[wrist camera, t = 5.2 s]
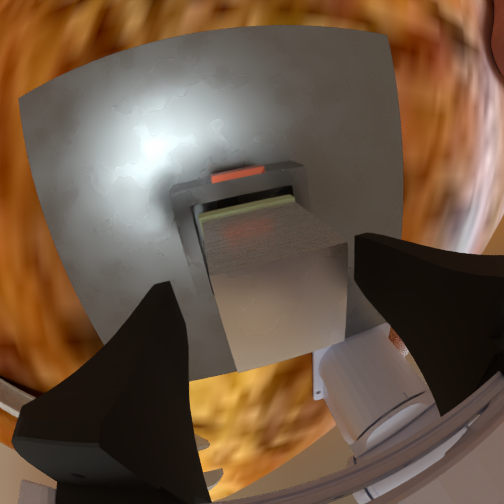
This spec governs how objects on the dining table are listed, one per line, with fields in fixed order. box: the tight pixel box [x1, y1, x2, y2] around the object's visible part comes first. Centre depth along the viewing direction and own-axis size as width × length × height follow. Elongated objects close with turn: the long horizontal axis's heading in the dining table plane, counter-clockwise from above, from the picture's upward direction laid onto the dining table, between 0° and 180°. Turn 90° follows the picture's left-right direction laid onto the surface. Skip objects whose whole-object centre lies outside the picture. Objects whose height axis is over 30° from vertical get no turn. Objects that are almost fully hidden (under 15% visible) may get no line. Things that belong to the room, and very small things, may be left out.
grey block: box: [198, 194, 348, 373], centre depth 11 cm, size 4×4×5 cm
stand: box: [19, 25, 403, 381], centre depth 15 cm, size 22×22×4 cm
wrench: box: [0, 378, 224, 490], centre depth 19 cm, size 8×2×30 cm
